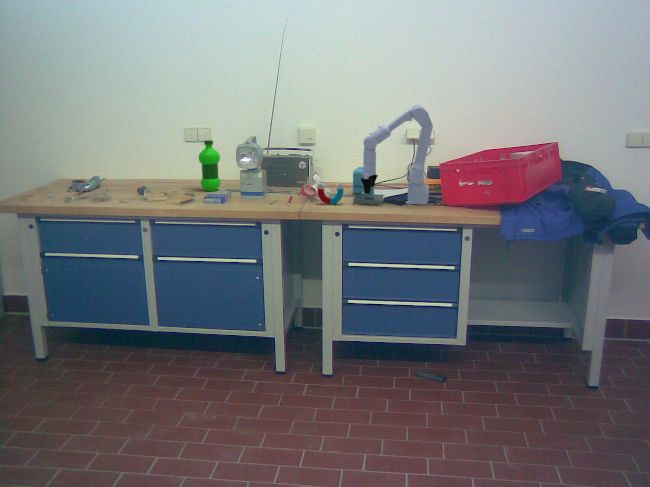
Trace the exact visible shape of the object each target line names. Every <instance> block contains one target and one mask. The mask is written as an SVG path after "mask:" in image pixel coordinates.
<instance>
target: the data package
mask: <svg viewBox="0 0 650 487" xmlns="http://www.w3.org/2000/svg"><path fill="white" fill-rule="evenodd" d="M362 171H363V166H358V167H357V168H355V169H354V170H353V171H352V194H353V195H358V194H362V193H363V192H364V187H363V184H362V181H361V178H364V175H363V174H361V172H362Z"/></svg>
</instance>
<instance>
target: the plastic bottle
mask: <svg viewBox="0 0 650 487" xmlns="http://www.w3.org/2000/svg"><path fill="white" fill-rule="evenodd" d="M203 142H204V144H203V145H204V146H205V148H203V149H202V151H201V152H200V153H199V155H198V162H199V163H200V164H201V172H202V174H201V175H202V177H201V180H200V185H201V188H202V189H203V190H204V191H206V192H215V190H216V191H217V190H218V189H219V188H220V186H221V182H222V181H221V178H220V177H219V163H220V161H221V154H220V153H219V151H218V150H216V149H214V147H213V145H214V141H213V140H212V139H211V140H209V139H207V140H204V141H203Z"/></svg>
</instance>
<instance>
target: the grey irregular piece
mask: <svg viewBox="0 0 650 487" xmlns="http://www.w3.org/2000/svg"><path fill="white" fill-rule="evenodd" d="M105 180H106V178H105V177H104V178H100V176H99V175H94V176H92V177H91V178H90V180H83V179H75V180H73V181H71V182H70V186H69V187H68V188H67V190H68V191H69V192H74V191H77V192H76V194H75V195H79V194H82V193H83V192H85V193H89V192H92V191H93V190H95V189H96V188H98V187H100V186H101V185H102V181H105Z"/></svg>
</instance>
